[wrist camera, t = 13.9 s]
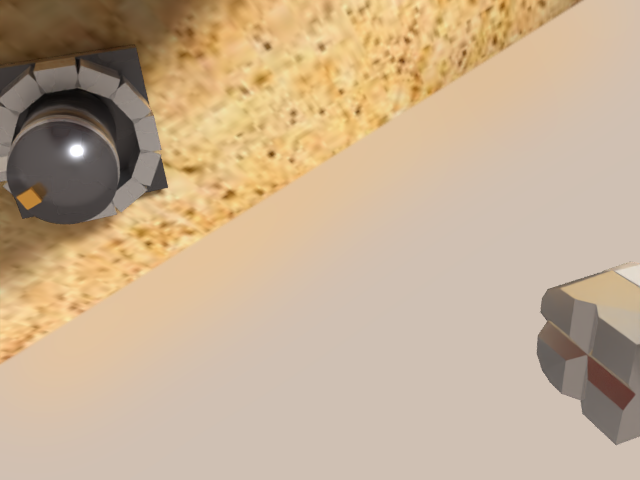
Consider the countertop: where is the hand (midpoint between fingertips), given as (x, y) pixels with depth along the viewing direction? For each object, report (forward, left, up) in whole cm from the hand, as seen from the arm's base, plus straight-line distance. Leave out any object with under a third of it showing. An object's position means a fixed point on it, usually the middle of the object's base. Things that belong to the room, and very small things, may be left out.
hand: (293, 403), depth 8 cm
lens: (+4, +5, -32) cm, 33 cm away
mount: (+4, +5, -33) cm, 34 cm away
